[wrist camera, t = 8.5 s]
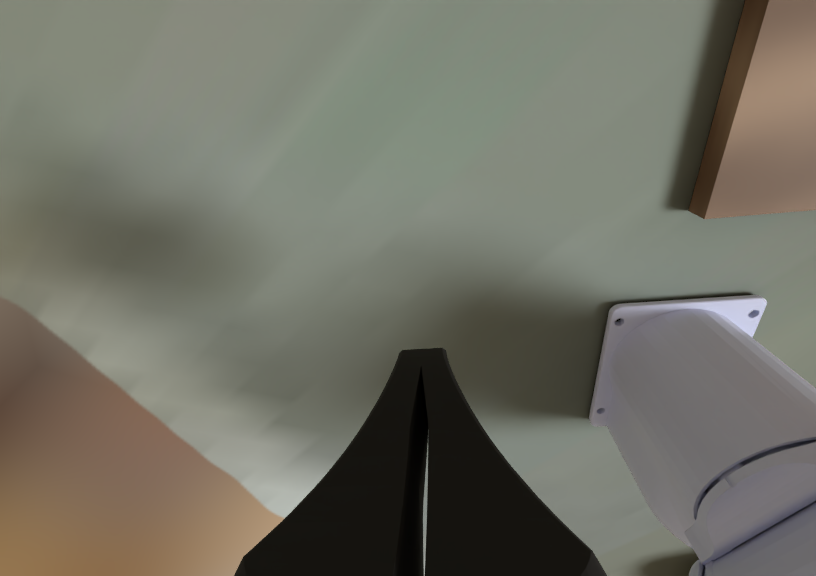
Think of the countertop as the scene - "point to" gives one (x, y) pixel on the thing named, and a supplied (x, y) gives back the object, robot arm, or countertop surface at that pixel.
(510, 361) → the countertop surface
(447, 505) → the robot arm
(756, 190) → the board
